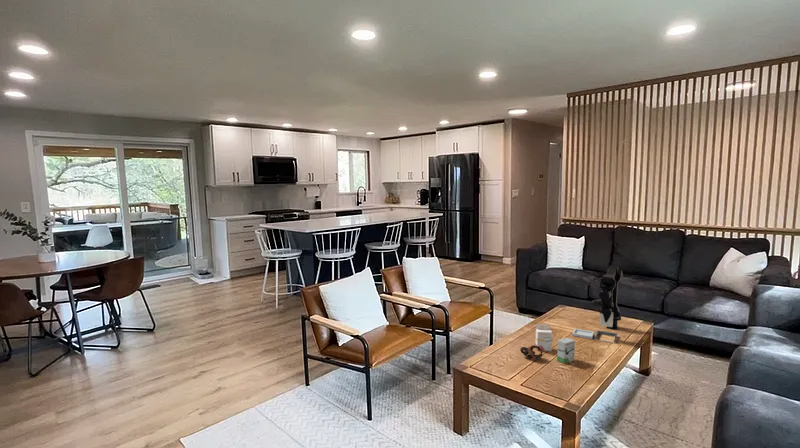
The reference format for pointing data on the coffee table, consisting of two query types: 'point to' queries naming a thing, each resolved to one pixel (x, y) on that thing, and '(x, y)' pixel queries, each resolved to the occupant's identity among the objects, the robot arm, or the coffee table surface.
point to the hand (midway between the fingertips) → (606, 320)
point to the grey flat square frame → (606, 334)
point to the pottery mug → (531, 352)
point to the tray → (583, 333)
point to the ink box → (566, 350)
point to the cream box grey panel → (609, 322)
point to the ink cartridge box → (543, 337)
